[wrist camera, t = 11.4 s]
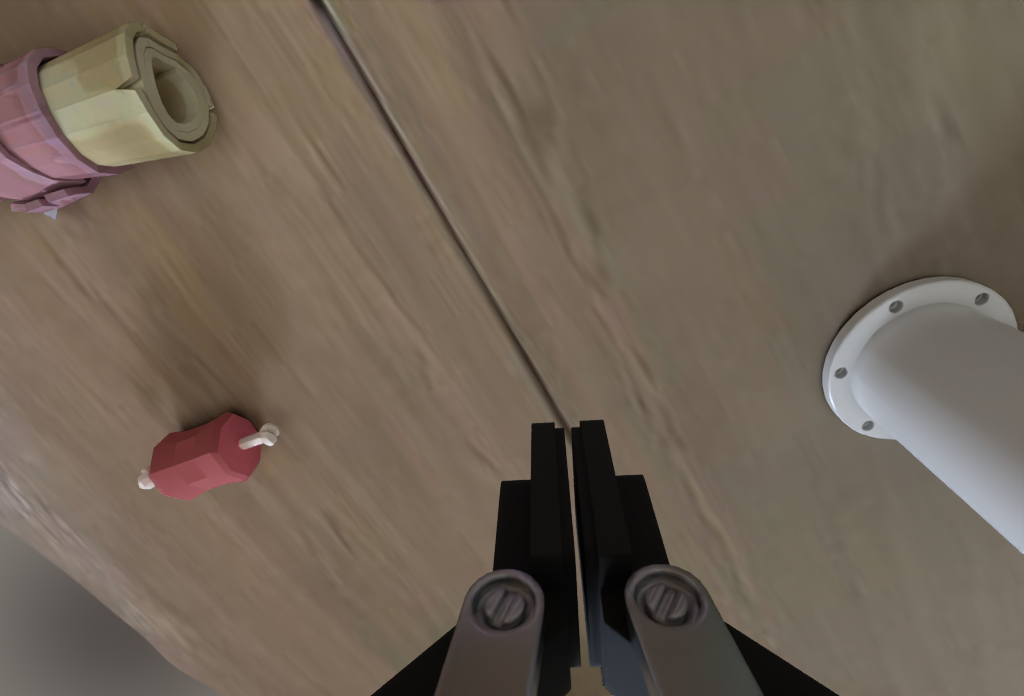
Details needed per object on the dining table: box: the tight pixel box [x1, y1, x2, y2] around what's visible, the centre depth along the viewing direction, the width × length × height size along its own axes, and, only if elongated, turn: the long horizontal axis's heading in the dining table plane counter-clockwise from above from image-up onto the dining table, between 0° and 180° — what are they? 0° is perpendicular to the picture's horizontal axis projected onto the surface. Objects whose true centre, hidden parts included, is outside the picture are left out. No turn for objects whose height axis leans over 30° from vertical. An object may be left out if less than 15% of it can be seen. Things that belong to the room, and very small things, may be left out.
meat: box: [138, 412, 279, 501], centre depth 39 cm, size 12×5×5 cm, turn 112°
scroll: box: [0, 22, 218, 220], centre depth 29 cm, size 8×8×20 cm
